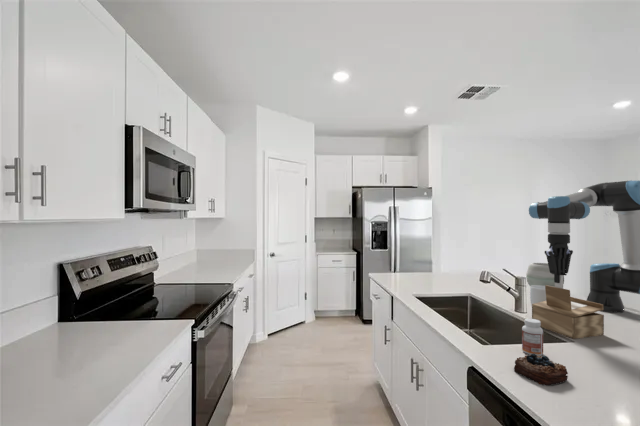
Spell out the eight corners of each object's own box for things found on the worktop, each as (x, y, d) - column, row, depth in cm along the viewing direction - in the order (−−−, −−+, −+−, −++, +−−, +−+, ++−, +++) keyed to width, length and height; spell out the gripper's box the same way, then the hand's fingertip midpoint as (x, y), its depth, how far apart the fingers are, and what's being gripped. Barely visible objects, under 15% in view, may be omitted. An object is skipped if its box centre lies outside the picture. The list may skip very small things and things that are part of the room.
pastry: (546, 389, 91) (546, 367, 91) (507, 370, 102) (507, 350, 102) (573, 382, 95) (573, 361, 95) (533, 364, 106) (533, 346, 106)
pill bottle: (529, 347, 119) (529, 316, 119) (547, 354, 114) (547, 321, 114) (518, 350, 116) (518, 319, 116) (536, 357, 111) (536, 324, 111)
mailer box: (559, 321, 150) (559, 303, 150) (603, 335, 133) (603, 314, 133) (531, 324, 146) (531, 305, 146) (573, 338, 128) (573, 318, 128)
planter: (572, 312, 164) (572, 266, 164) (538, 312, 164) (539, 266, 164) (549, 303, 180) (550, 262, 180) (519, 303, 180) (519, 262, 181)
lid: (559, 299, 150) (558, 279, 150) (603, 309, 133) (601, 287, 133) (531, 305, 146) (530, 284, 145) (573, 317, 128) (571, 294, 128)
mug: (537, 308, 170) (537, 283, 170) (563, 313, 161) (563, 286, 162) (526, 314, 161) (526, 286, 161) (553, 319, 152) (553, 291, 152)
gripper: (561, 232, 144) (561, 287, 144) (538, 233, 140) (538, 289, 140) (579, 233, 136) (579, 291, 136) (555, 234, 133) (556, 293, 133)
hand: (558, 290), depth 138 cm, fingers closed
